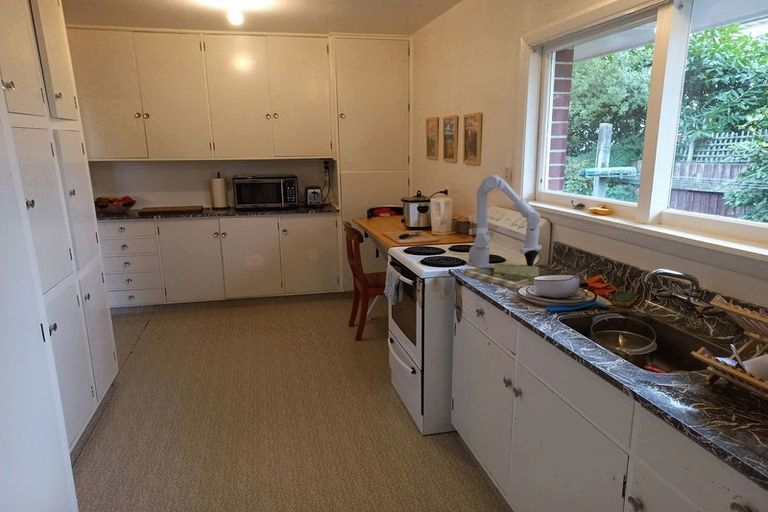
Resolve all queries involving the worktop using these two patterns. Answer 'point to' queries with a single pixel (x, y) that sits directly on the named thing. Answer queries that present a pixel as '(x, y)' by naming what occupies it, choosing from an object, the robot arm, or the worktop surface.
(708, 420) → the worktop surface
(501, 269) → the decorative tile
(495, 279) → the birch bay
